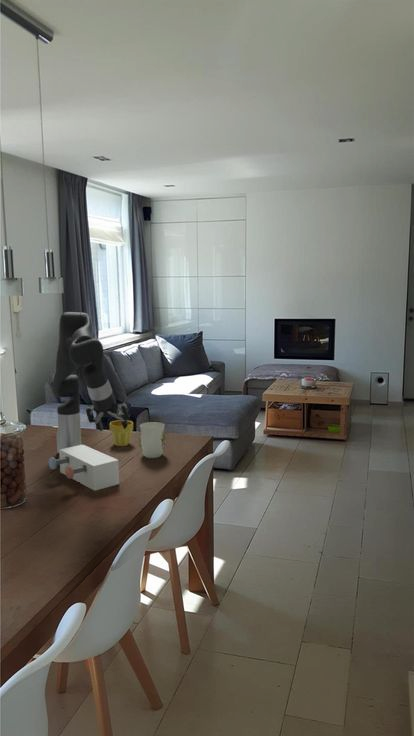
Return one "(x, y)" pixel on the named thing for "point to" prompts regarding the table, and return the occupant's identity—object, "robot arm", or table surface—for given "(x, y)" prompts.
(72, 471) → the red key
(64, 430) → the robot arm
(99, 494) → the table surface
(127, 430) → the plant pot
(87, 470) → the key box
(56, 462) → the blue key
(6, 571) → the table surface
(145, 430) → the pitcher
